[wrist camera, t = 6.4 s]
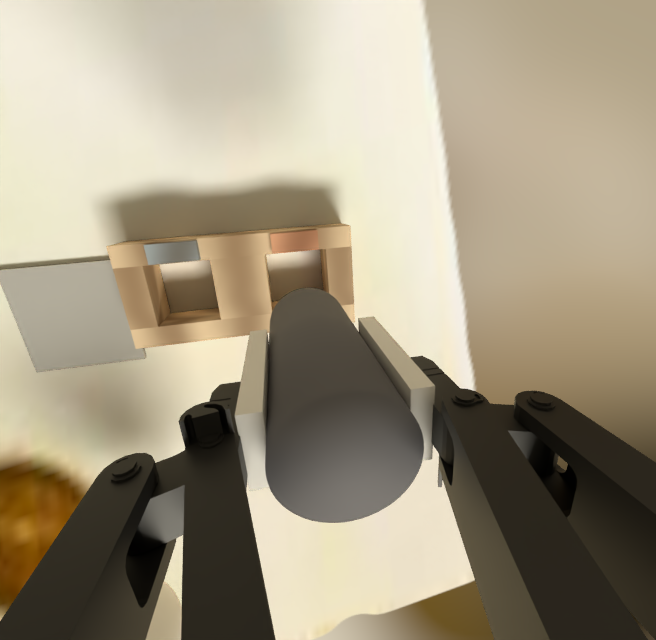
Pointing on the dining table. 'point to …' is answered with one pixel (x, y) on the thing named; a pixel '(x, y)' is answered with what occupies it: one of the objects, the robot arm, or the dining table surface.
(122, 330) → the pad
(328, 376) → the plug
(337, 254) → the socket block
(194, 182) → the dining table surface
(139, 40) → the dining table surface
